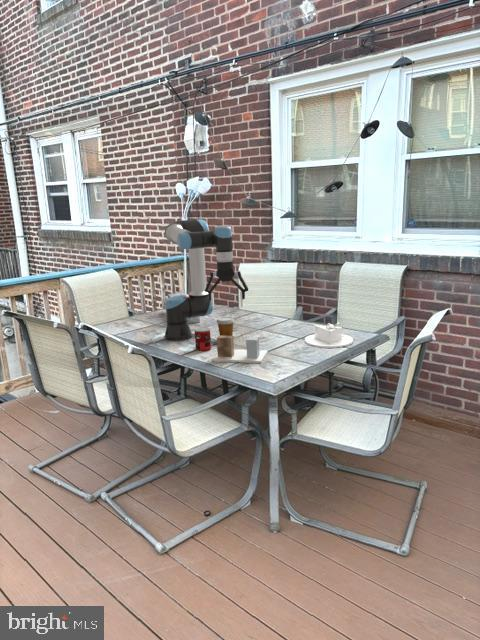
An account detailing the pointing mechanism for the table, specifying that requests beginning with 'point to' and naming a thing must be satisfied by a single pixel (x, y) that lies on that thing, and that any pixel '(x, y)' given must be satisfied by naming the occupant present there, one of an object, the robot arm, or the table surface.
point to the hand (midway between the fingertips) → (227, 306)
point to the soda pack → (190, 320)
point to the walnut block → (225, 346)
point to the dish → (328, 337)
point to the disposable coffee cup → (225, 326)
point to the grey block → (252, 347)
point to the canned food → (202, 339)
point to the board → (242, 357)
